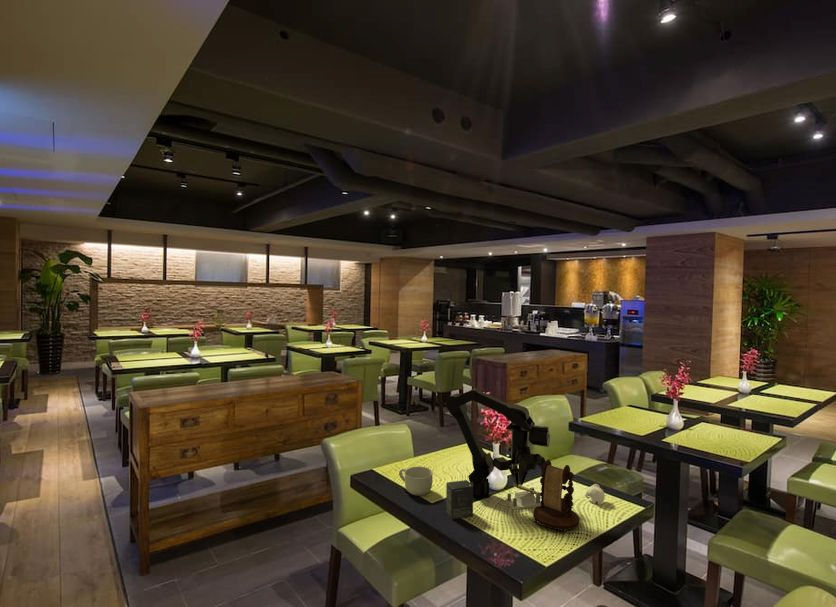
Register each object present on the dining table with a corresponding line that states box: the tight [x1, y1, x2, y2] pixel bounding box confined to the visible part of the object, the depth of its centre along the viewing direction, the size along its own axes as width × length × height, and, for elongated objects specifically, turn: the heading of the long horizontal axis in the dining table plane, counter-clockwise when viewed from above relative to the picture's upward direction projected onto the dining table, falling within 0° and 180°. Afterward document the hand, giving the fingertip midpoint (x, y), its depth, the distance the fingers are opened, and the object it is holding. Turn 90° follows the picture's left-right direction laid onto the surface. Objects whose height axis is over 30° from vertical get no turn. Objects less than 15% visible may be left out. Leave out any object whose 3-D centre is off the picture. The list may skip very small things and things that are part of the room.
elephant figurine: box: [584, 483, 607, 506], centre depth 164 cm, size 7×8×6 cm
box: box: [445, 479, 474, 521], centre depth 153 cm, size 8×6×11 cm
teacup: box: [398, 465, 434, 497], centre depth 171 cm, size 14×11×8 cm
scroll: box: [532, 459, 581, 534], centre depth 149 cm, size 15×15×20 cm
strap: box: [512, 482, 537, 495], centre depth 163 cm, size 10×3×1 cm, turn 107°
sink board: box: [504, 487, 541, 511], centre depth 162 cm, size 12×7×4 cm, turn 108°
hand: (518, 485), depth 162 cm, fingers closed
